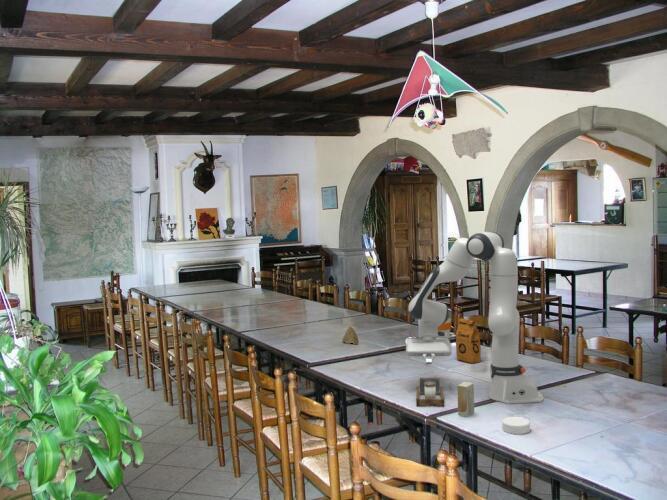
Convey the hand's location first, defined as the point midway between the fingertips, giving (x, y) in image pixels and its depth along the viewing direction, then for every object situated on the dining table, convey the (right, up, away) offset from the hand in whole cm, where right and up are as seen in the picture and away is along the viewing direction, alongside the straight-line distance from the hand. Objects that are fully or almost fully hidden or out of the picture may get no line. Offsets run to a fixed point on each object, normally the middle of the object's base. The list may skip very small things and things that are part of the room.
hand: (428, 363), depth 287 cm
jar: (-1, -14, -12) cm, 19 cm away
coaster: (+25, -17, -47) cm, 56 cm away
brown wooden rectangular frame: (-1, -14, -8) cm, 16 cm away
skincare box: (+11, -15, -28) cm, 34 cm away
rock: (-32, -7, +106) cm, 111 cm away
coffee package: (+29, -8, +54) cm, 62 cm away
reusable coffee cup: (+25, -4, +116) cm, 119 cm away
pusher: (0, -13, +1) cm, 13 cm away
